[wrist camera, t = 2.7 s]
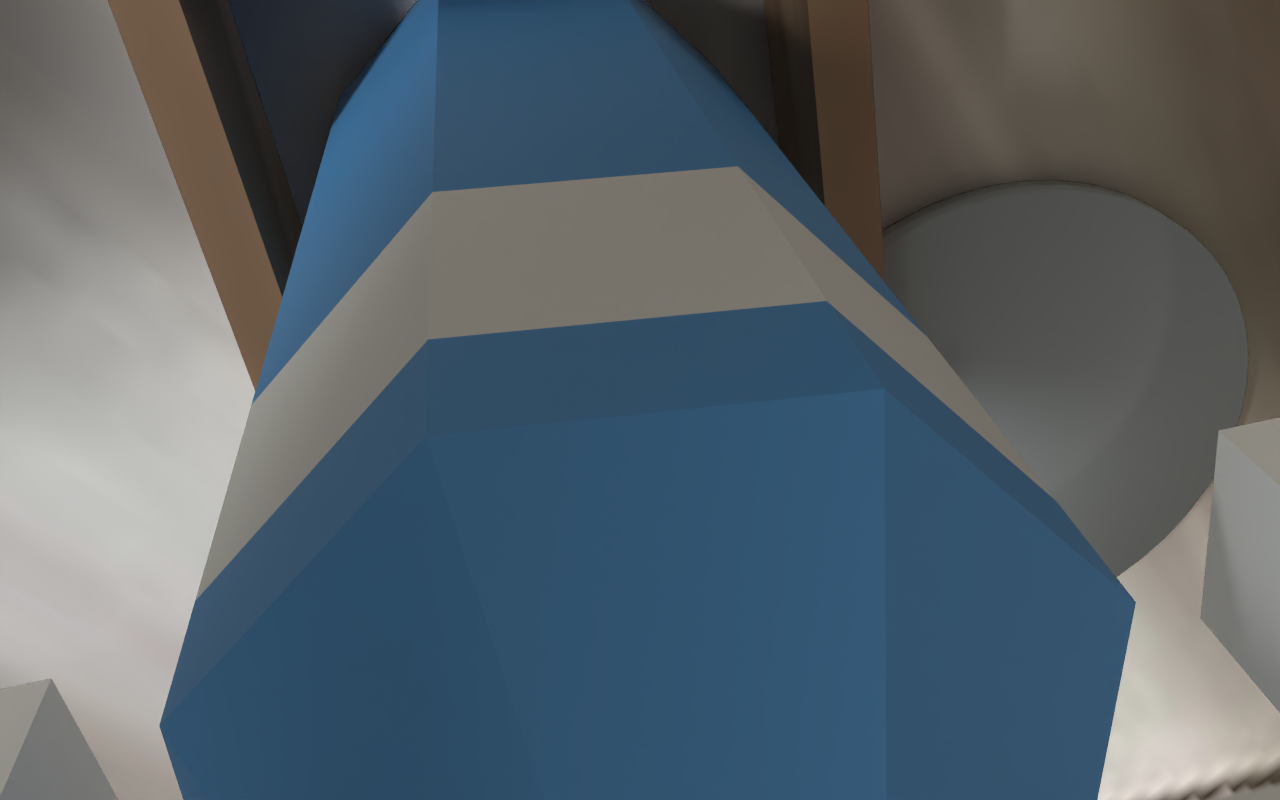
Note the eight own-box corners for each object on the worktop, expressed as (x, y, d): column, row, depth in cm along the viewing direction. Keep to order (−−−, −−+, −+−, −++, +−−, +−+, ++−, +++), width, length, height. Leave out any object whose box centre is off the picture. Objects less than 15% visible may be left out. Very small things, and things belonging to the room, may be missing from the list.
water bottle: (459, 395, 31) (489, 1945, 9) (251, 71, 26) (-647, 1660, 5) (788, 236, 30) (1660, 1543, 8) (633, -129, 25) (1693, 704, 4)
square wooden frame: (331, 464, 31) (317, 555, 28) (134, -97, 24) (82, -67, 21) (845, 355, 32) (894, 431, 28) (797, -224, 25) (854, -216, 21)
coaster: (776, 656, 37) (782, 674, 36) (719, 242, 30) (726, 254, 29) (1210, 560, 37) (1224, 575, 37) (1256, 130, 30) (1274, 140, 30)
